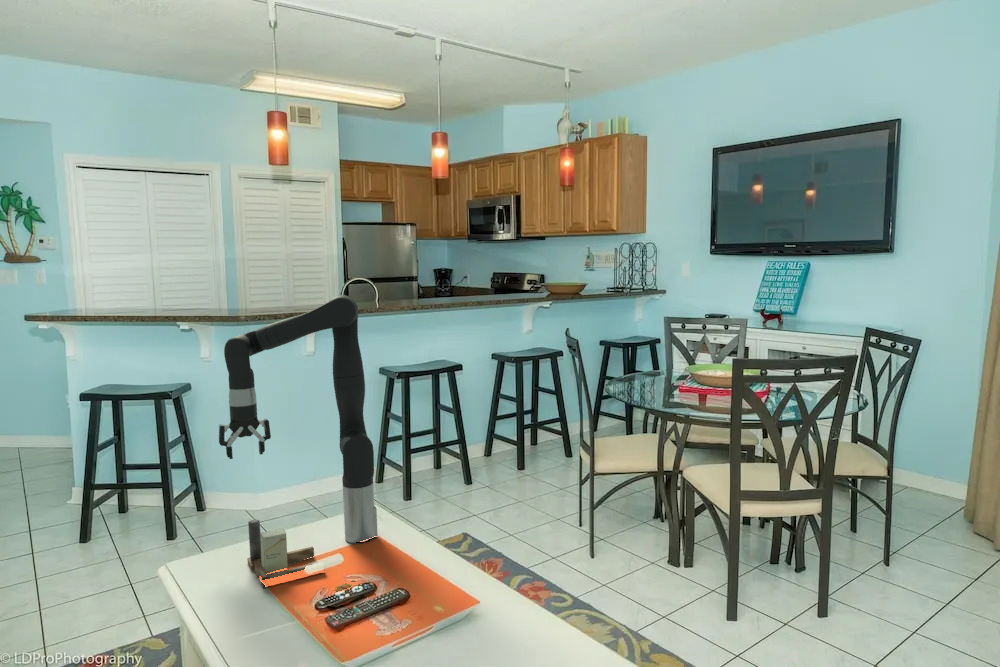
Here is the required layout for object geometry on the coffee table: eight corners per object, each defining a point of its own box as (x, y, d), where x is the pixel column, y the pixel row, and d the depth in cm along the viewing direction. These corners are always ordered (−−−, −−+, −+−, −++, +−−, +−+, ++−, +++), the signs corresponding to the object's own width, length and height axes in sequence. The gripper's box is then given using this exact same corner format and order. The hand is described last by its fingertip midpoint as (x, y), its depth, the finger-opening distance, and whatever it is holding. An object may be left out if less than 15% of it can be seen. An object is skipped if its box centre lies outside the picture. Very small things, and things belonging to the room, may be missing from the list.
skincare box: (265, 582, 174) (262, 538, 172) (261, 575, 177) (259, 532, 176) (289, 575, 177) (286, 532, 176) (285, 569, 181) (282, 527, 179)
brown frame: (307, 549, 193) (305, 508, 192) (325, 572, 178) (322, 528, 176) (247, 563, 185) (245, 520, 184) (260, 589, 169) (257, 543, 168)
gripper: (218, 407, 185) (222, 463, 187) (270, 401, 193) (273, 455, 194) (215, 403, 192) (218, 457, 193) (265, 398, 199) (268, 449, 201)
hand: (246, 456), depth 194 cm, fingers open, 8 cm apart
